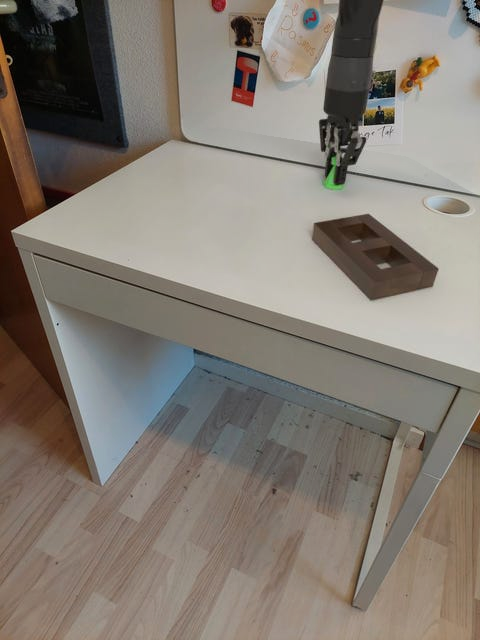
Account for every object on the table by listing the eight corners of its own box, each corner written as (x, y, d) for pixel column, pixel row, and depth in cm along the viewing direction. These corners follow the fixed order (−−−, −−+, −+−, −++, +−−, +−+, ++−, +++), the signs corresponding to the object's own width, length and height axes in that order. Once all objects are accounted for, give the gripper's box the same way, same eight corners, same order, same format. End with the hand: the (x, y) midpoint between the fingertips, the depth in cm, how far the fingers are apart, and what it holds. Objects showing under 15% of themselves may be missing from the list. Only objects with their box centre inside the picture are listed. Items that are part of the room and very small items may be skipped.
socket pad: (365, 229, 76) (368, 213, 74) (432, 286, 63) (439, 268, 61) (311, 239, 73) (313, 222, 71) (371, 300, 61) (375, 282, 59)
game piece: (333, 179, 93) (337, 149, 89) (349, 186, 90) (354, 156, 86) (318, 184, 91) (321, 154, 87) (333, 191, 88) (338, 160, 84)
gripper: (389, 91, 75) (370, 191, 85) (346, 74, 85) (333, 165, 96) (349, 95, 73) (334, 197, 83) (310, 77, 83) (301, 170, 94)
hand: (334, 179), depth 90 cm, fingers open, 3 cm apart
